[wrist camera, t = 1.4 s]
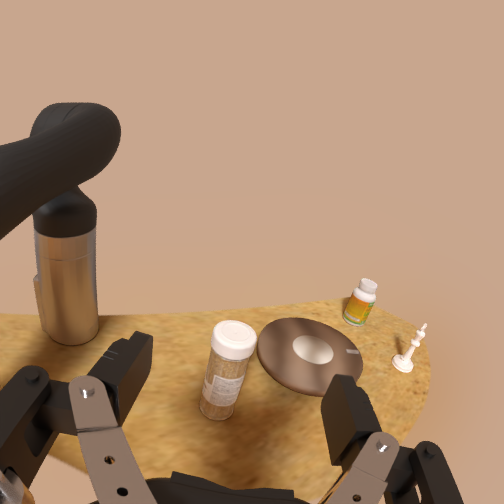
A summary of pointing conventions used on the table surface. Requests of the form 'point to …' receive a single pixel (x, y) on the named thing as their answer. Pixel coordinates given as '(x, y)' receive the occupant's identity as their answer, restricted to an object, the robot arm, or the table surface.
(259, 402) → the table surface
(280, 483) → the table surface
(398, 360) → the chess piece
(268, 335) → the turntable platter
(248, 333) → the sprinkles bottle
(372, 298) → the supplement bottle
